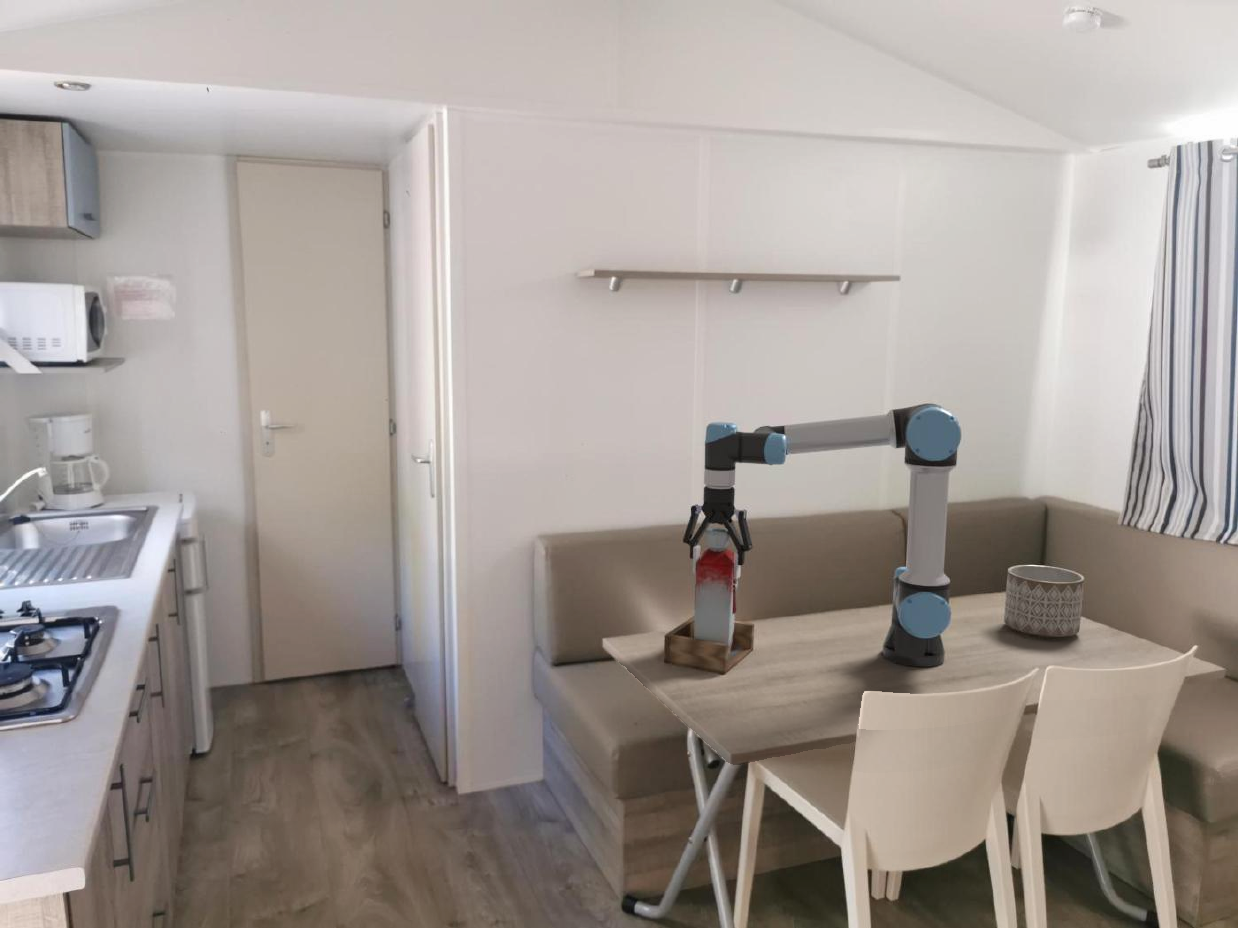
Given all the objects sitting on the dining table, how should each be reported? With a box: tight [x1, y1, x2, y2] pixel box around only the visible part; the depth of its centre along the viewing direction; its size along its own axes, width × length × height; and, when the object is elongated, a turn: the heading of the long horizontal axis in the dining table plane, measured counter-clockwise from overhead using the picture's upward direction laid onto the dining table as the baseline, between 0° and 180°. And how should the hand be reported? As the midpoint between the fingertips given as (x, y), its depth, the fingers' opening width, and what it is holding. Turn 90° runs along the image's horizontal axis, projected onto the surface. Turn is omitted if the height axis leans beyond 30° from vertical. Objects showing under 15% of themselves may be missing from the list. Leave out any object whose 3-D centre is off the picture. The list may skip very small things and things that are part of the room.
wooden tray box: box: [663, 614, 755, 675], centre depth 248 cm, size 16×20×7 cm
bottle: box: [693, 527, 739, 655], centre depth 245 cm, size 14×10×30 cm
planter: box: [1003, 564, 1085, 638], centre depth 273 cm, size 19×19×16 cm
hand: (716, 574), depth 245 cm, fingers closed on bottle, 10 cm apart
